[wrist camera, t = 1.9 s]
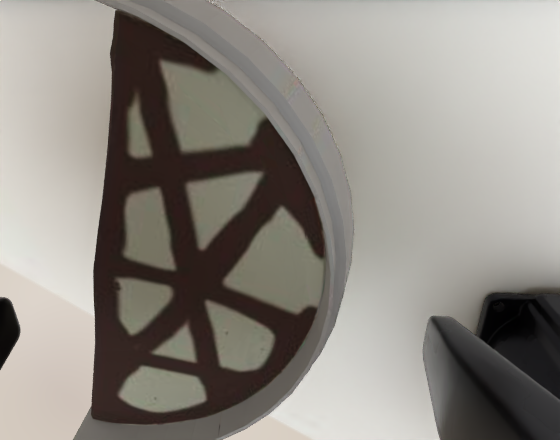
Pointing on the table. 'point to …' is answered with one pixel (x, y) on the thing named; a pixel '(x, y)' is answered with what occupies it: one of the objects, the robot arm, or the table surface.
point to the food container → (210, 229)
